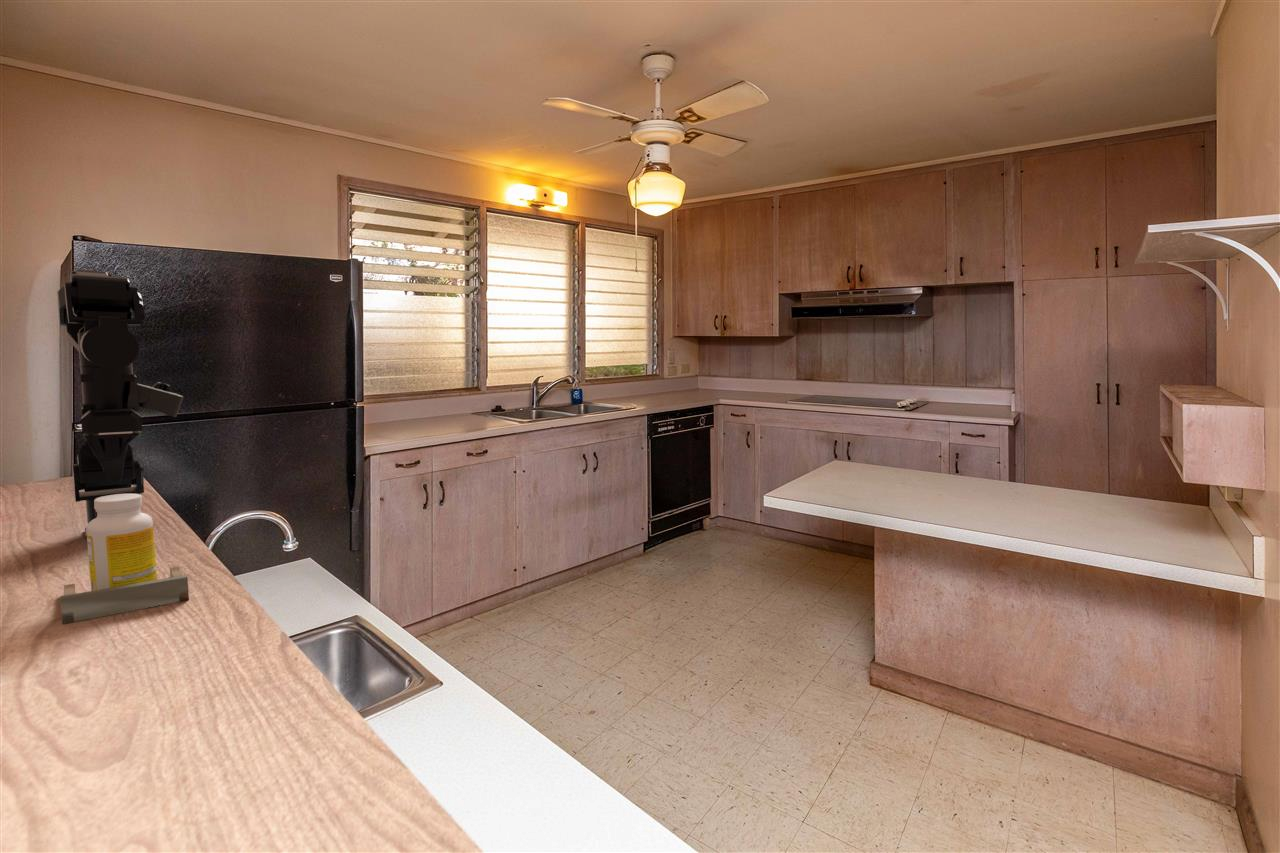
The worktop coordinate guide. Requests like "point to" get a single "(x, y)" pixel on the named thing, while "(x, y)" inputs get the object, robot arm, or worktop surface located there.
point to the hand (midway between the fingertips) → (114, 475)
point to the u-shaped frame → (123, 597)
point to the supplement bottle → (120, 543)
